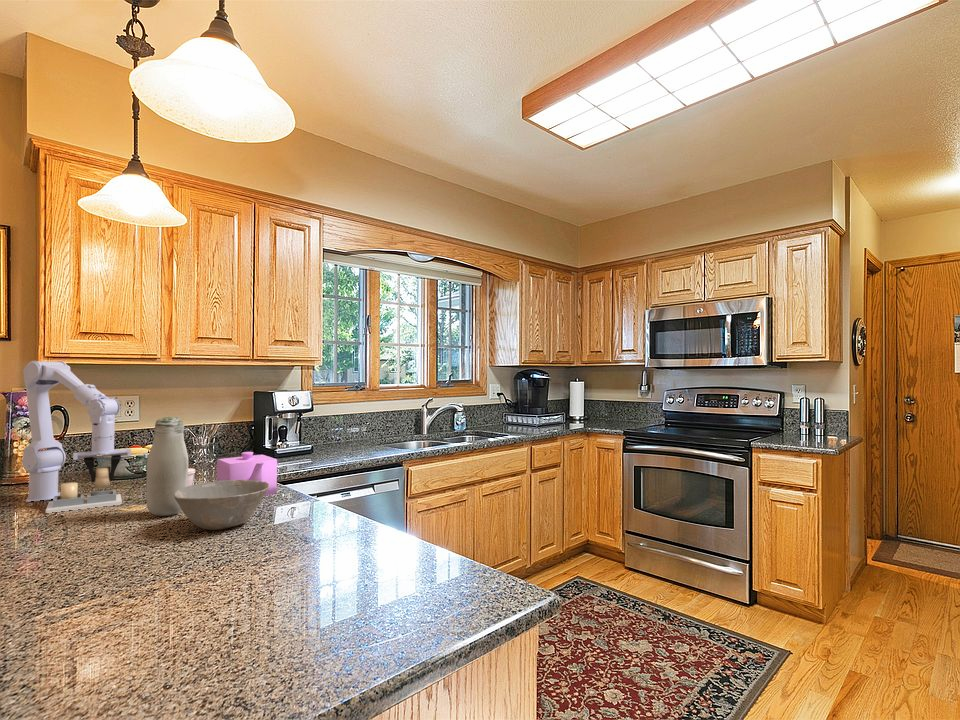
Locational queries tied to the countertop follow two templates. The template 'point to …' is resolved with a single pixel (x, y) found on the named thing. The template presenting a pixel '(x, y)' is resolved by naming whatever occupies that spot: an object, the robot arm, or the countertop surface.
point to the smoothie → (190, 476)
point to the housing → (81, 499)
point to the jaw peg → (102, 477)
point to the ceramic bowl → (220, 502)
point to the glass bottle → (166, 467)
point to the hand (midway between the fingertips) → (102, 480)
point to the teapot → (249, 469)
